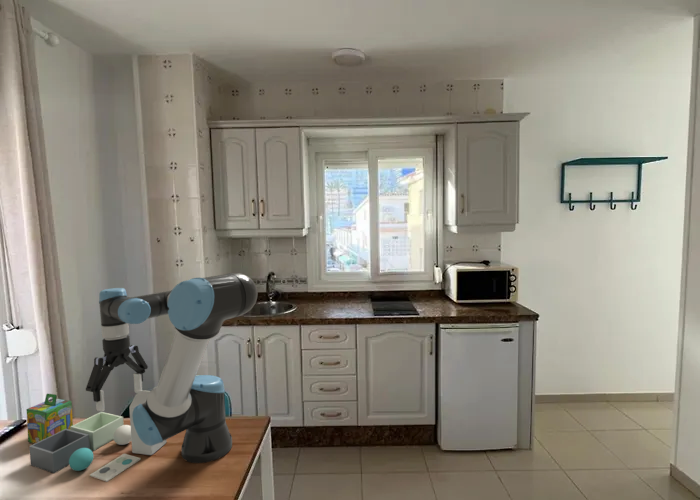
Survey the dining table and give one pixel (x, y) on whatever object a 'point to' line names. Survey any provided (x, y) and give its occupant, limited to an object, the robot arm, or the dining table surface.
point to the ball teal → (81, 459)
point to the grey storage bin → (57, 450)
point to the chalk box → (48, 418)
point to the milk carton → (136, 441)
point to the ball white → (122, 435)
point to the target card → (115, 467)
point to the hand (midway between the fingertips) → (120, 401)
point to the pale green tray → (99, 428)
